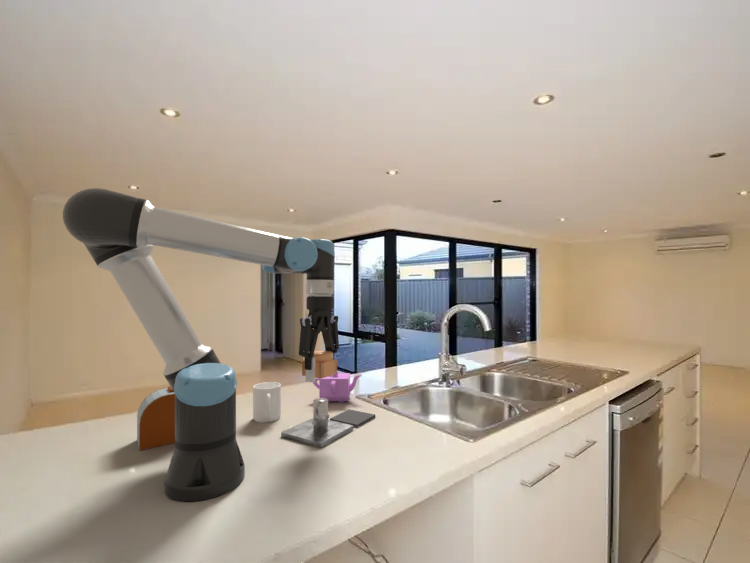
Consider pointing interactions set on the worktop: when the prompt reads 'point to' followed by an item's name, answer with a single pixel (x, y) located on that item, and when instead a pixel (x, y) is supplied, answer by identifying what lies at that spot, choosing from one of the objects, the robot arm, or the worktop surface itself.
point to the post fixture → (318, 427)
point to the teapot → (336, 387)
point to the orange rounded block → (156, 419)
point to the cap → (323, 364)
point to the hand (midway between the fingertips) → (319, 378)
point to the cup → (266, 402)
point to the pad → (353, 417)
